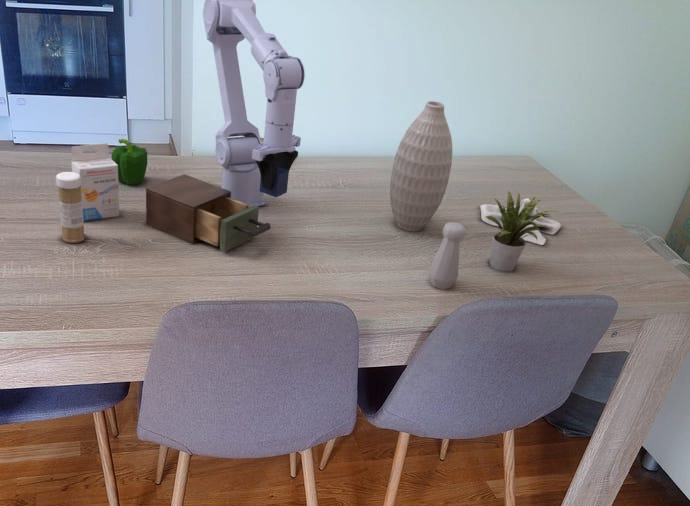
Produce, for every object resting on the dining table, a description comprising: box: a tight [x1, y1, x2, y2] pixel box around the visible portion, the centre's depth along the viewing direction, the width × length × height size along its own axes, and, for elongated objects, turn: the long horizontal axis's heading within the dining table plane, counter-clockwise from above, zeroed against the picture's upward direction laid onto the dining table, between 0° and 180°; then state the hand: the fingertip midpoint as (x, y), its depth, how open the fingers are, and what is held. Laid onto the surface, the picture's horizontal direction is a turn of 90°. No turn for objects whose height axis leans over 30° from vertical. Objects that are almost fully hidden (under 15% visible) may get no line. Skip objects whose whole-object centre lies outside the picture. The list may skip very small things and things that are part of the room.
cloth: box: [479, 198, 562, 246], centre depth 172 cm, size 22×19×6 cm
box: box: [260, 167, 290, 198], centre depth 150 cm, size 4×4×5 cm
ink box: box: [70, 142, 120, 222], centre depth 150 cm, size 8×5×15 cm, turn 123°
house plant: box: [486, 190, 558, 272], centre depth 148 cm, size 14×14×16 cm
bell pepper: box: [111, 138, 148, 186], centre depth 169 cm, size 8×8×10 cm
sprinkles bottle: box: [55, 171, 86, 244], centre depth 140 cm, size 5×5×14 cm
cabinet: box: [145, 173, 231, 245], centre depth 152 cm, size 13×12×8 cm
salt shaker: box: [428, 221, 467, 290], centre depth 140 cm, size 6×6×13 cm
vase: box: [389, 100, 453, 232], centre depth 158 cm, size 13×13×28 cm
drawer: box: [195, 196, 272, 253], centre depth 148 cm, size 17×11×7 cm, turn 56°
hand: (273, 185), depth 150 cm, fingers closed on box, 4 cm apart
